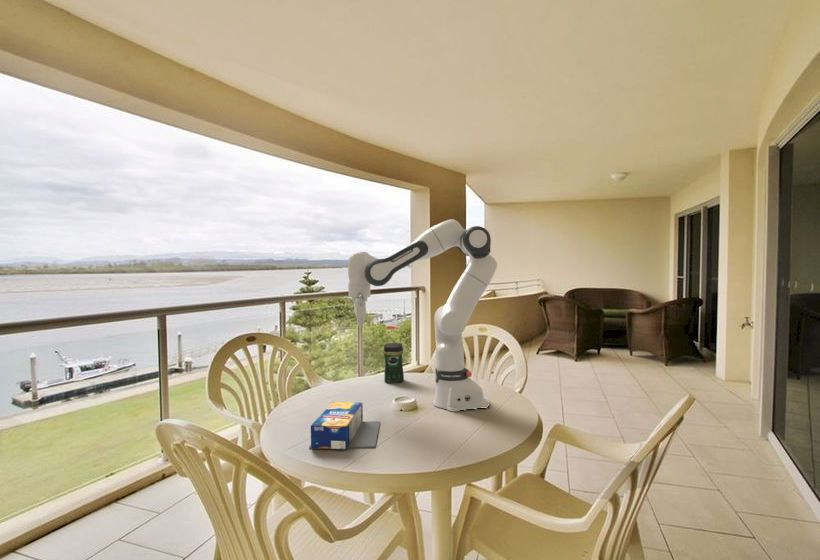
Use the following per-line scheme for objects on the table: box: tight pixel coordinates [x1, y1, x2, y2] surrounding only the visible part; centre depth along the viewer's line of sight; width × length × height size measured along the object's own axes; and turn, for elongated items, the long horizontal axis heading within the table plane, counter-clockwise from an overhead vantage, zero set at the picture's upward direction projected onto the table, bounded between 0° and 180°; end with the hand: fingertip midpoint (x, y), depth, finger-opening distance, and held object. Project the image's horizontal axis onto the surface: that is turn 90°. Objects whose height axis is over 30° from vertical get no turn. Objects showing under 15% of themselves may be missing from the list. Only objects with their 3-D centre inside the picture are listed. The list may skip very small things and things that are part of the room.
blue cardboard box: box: [310, 401, 364, 450], centre depth 126 cm, size 7×11×22 cm
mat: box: [309, 420, 381, 450], centre depth 126 cm, size 20×19×1 cm
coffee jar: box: [383, 342, 405, 384], centre depth 185 cm, size 10×8×19 cm
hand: (360, 326), depth 155 cm, fingers closed
